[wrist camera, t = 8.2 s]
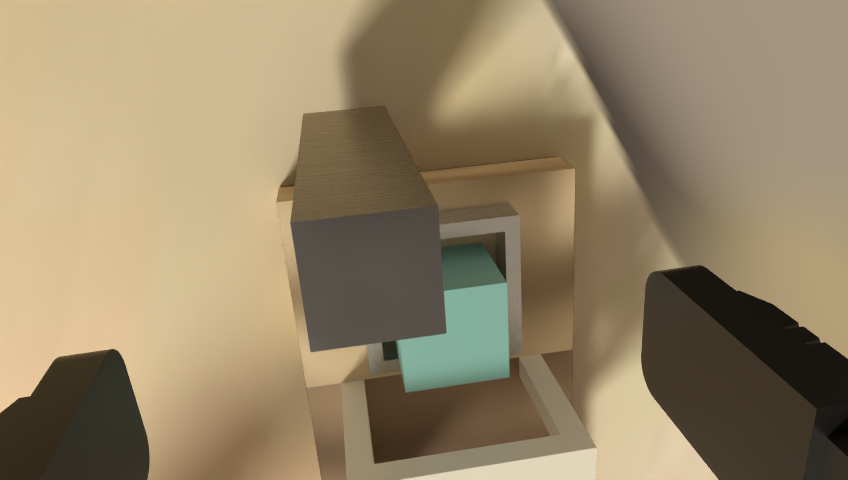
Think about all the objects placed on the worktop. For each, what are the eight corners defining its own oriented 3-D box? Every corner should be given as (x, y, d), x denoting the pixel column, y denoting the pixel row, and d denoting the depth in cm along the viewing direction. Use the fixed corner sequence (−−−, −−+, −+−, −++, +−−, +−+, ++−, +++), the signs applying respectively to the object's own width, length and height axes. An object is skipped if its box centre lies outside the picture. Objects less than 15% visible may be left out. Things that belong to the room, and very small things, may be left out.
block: (385, 254, 27) (396, 297, 23) (481, 242, 27) (507, 282, 24) (394, 339, 28) (405, 392, 25) (485, 326, 29) (509, 377, 25)
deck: (279, 187, 27) (275, 202, 25) (558, 156, 28) (575, 168, 27) (343, 584, 35) (344, 617, 34) (556, 546, 37) (569, 576, 35)
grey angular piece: (303, 113, 24) (290, 222, 13) (506, 93, 25) (655, 180, 14) (338, 360, 28) (350, 604, 17) (512, 336, 29) (632, 553, 18)
